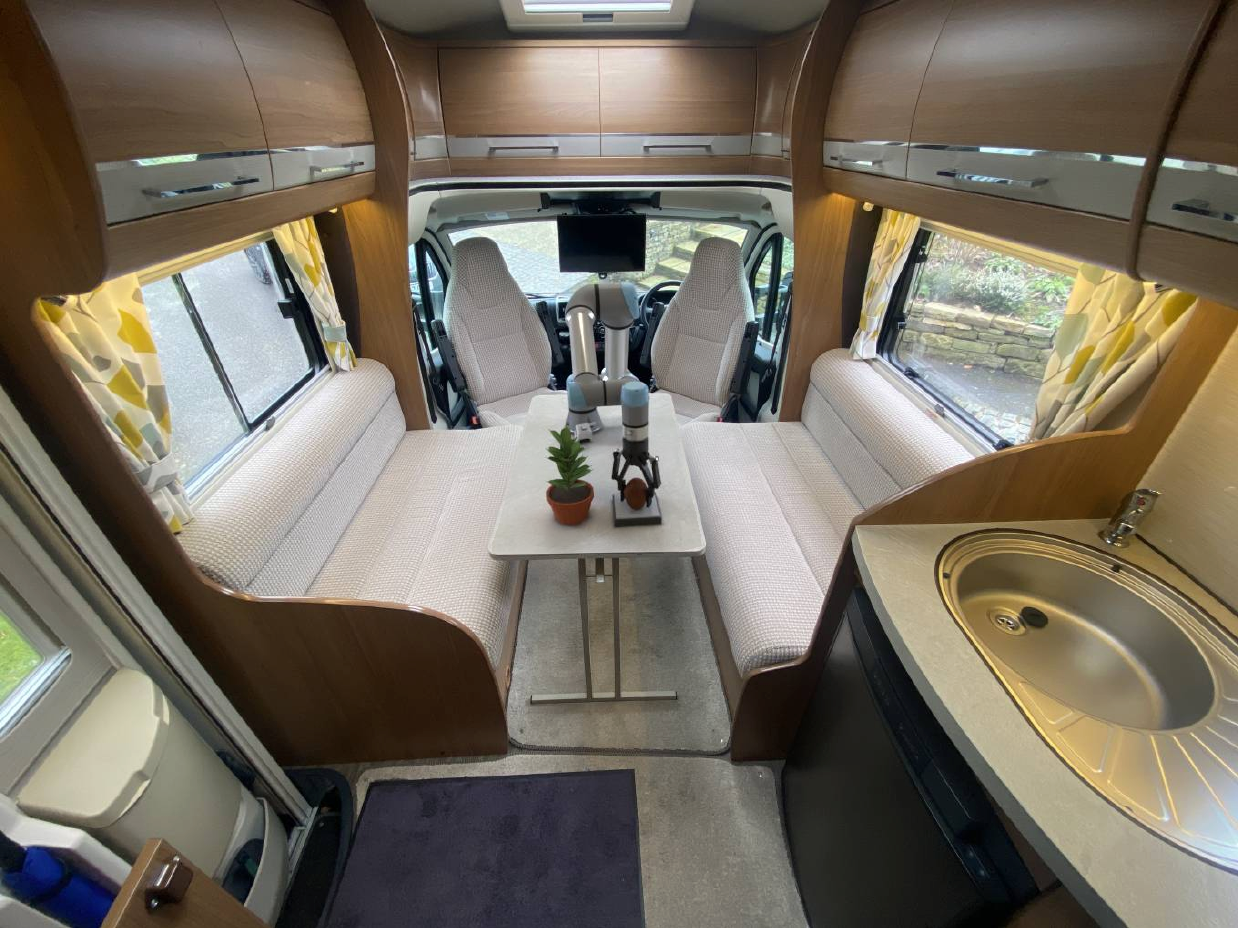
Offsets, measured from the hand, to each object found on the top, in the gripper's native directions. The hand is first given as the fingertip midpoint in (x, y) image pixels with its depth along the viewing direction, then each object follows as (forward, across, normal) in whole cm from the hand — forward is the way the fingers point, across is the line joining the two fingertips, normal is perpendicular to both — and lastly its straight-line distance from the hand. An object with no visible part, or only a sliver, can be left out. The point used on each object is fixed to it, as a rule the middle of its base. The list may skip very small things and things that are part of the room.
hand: (636, 502), depth 153 cm
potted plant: (+4, -18, -9) cm, 20 cm away
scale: (+4, 0, 0) cm, 4 cm away
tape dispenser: (+4, -37, +36) cm, 52 cm away
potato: (0, 0, 0) cm, 0 cm away
